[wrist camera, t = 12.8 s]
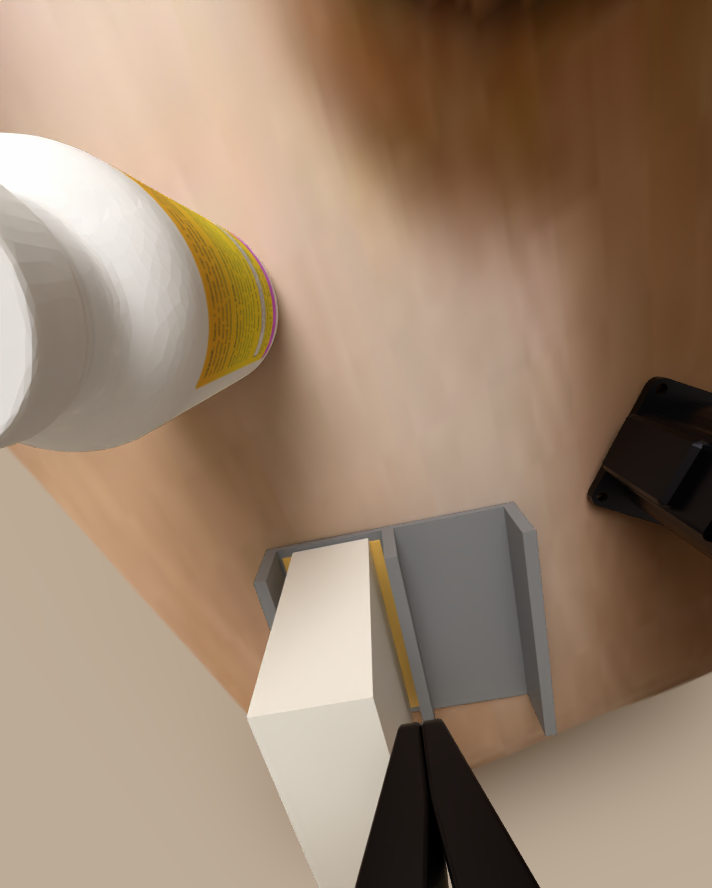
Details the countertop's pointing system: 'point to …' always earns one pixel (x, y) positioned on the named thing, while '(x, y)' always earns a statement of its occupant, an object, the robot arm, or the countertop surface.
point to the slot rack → (454, 606)
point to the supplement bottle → (114, 302)
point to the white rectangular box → (330, 704)
